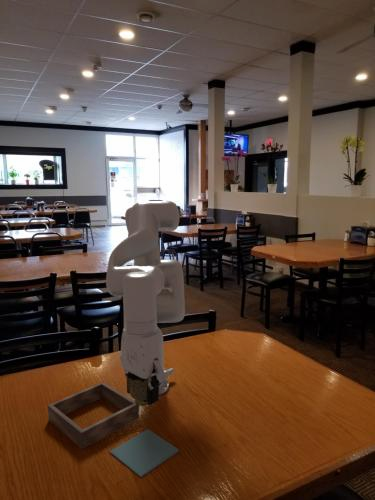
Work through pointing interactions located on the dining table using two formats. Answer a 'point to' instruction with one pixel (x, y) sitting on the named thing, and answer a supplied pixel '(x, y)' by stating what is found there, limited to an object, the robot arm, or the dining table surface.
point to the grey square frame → (99, 428)
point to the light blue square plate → (144, 452)
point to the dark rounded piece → (138, 388)
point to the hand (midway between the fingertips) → (142, 396)
